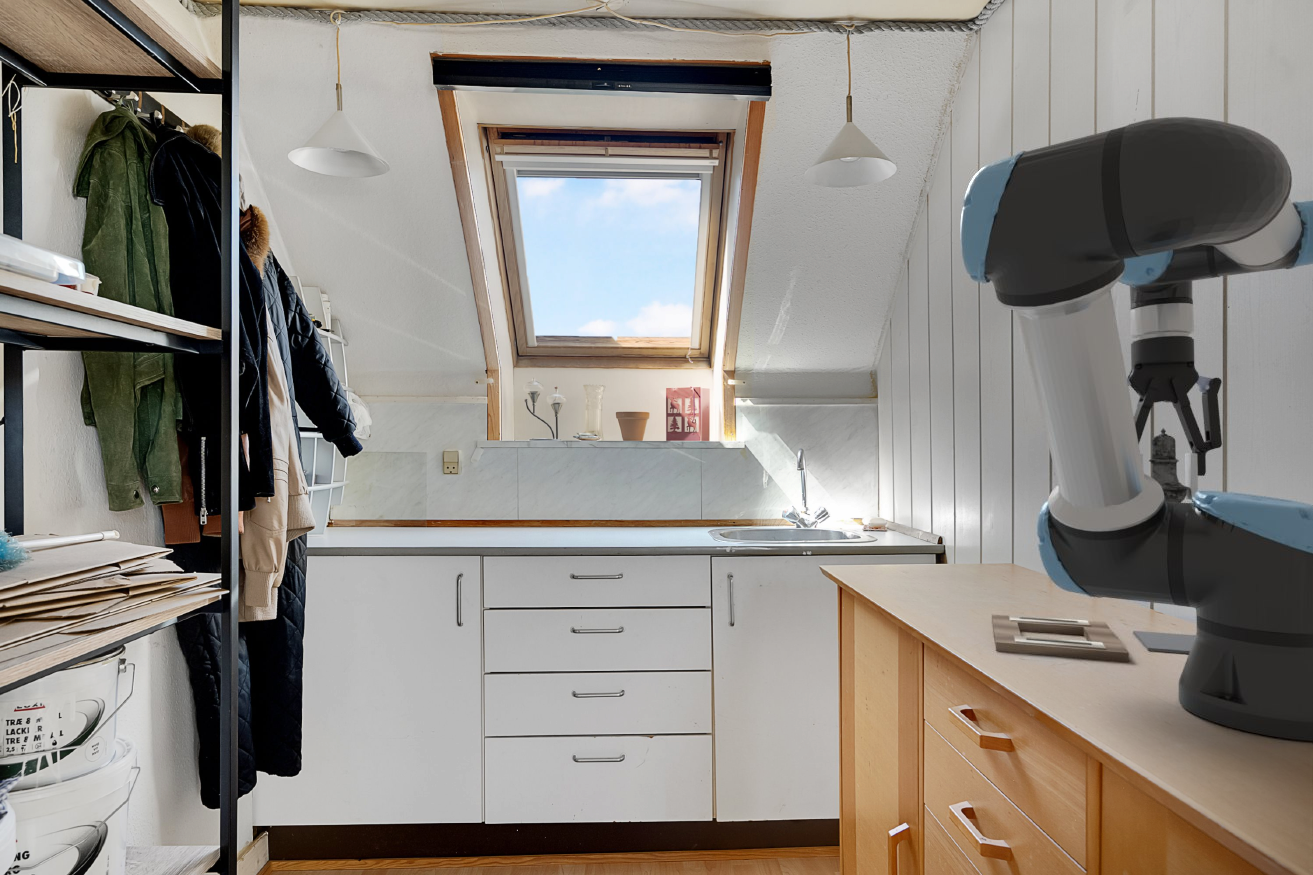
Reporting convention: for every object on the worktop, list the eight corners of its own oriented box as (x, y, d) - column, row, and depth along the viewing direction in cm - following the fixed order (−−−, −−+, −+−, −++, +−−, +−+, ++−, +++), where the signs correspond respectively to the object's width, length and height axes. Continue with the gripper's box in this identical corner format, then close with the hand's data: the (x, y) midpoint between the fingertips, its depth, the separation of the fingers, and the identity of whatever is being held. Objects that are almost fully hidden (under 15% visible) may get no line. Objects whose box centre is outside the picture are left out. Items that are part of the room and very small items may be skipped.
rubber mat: (1235, 657, 100) (1235, 654, 100) (1148, 650, 104) (1148, 647, 104) (1212, 639, 109) (1212, 636, 109) (1133, 633, 113) (1133, 630, 113)
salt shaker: (1200, 513, 104) (1198, 427, 104) (1158, 514, 104) (1156, 428, 104) (1170, 509, 110) (1169, 428, 110) (1131, 510, 110) (1129, 429, 110)
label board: (1128, 661, 99) (1128, 650, 99) (996, 650, 105) (995, 639, 105) (1105, 629, 115) (1105, 620, 115) (991, 621, 121) (991, 612, 121)
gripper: (1231, 337, 107) (1234, 497, 107) (1082, 344, 114) (1085, 496, 114) (1251, 329, 100) (1255, 501, 100) (1092, 338, 107) (1095, 500, 107)
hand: (1164, 498), depth 107 cm, fingers closed on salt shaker, 6 cm apart
